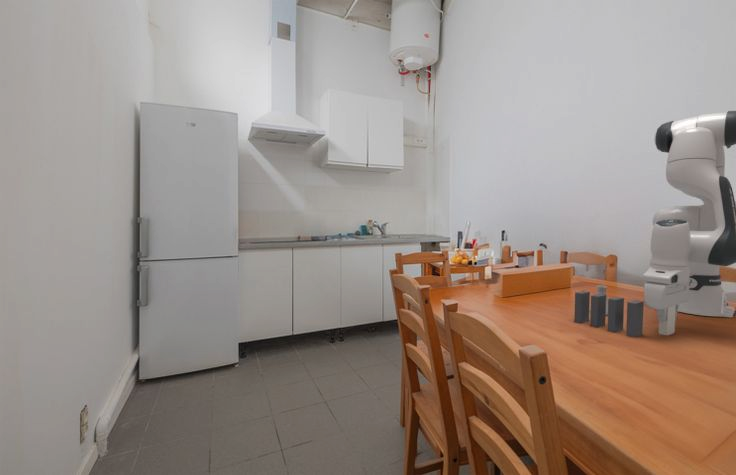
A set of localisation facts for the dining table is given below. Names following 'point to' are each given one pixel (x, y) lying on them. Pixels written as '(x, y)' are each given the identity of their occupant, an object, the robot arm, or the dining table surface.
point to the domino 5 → (668, 322)
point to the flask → (603, 291)
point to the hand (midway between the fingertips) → (667, 319)
